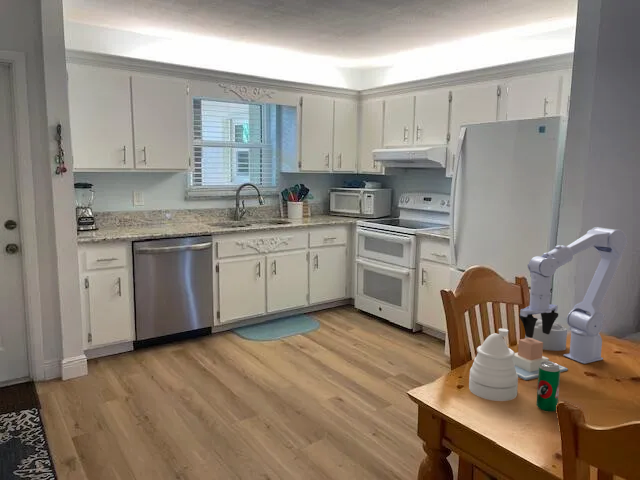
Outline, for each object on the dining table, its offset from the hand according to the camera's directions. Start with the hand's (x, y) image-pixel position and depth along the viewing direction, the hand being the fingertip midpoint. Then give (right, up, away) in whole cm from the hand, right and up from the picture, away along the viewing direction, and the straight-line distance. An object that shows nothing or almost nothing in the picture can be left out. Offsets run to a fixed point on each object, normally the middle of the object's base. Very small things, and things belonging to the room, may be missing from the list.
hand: (537, 335), depth 157 cm
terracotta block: (-4, -6, -3) cm, 8 cm away
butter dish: (-4, -10, -2) cm, 11 cm away
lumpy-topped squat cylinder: (+11, -7, +18) cm, 22 cm away
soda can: (-11, -14, -30) cm, 34 cm away
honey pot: (-21, -12, -19) cm, 31 cm away
